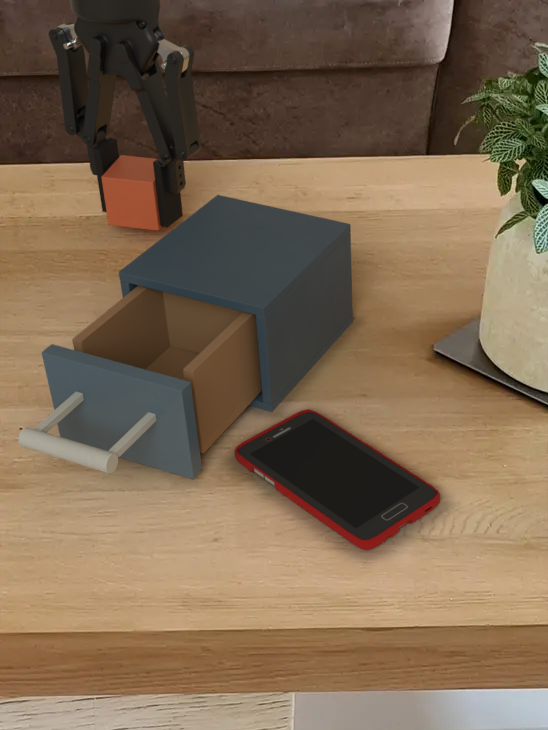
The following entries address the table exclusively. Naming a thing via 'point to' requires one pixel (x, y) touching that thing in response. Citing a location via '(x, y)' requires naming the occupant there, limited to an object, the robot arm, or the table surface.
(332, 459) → the cell phone
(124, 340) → the drawer
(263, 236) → the cabinet
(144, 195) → the block
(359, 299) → the table surface
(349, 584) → the table surface
